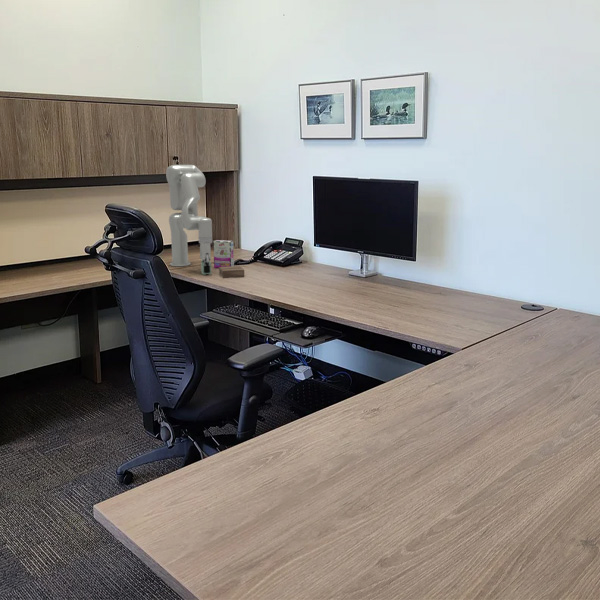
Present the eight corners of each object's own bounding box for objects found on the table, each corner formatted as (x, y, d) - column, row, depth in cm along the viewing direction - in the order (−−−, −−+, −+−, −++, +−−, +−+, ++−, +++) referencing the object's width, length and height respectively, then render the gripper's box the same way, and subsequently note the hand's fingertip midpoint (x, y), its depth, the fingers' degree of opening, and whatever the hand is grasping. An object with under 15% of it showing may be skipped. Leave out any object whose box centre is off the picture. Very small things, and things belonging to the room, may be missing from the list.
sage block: (201, 273, 357) (200, 261, 356) (209, 272, 359) (209, 260, 357) (202, 274, 353) (202, 262, 351) (211, 274, 354) (211, 262, 352)
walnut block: (219, 273, 356) (218, 266, 355) (239, 272, 359) (239, 265, 358) (222, 278, 345) (222, 270, 344) (244, 276, 348) (244, 269, 347)
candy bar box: (234, 267, 374) (233, 240, 370) (231, 269, 369) (230, 241, 365) (217, 266, 377) (216, 239, 373) (213, 268, 373) (213, 240, 369)
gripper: (196, 238, 358) (197, 269, 362) (201, 242, 342) (201, 275, 346) (209, 237, 360) (210, 268, 364) (214, 242, 344) (215, 274, 349)
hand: (206, 271), depth 355 cm, fingers closed on sage block, 5 cm apart
